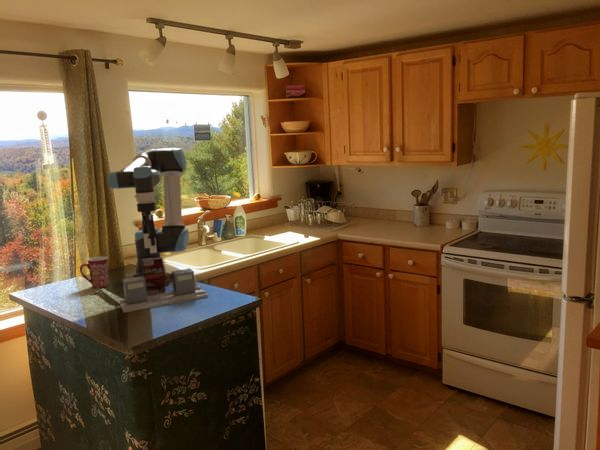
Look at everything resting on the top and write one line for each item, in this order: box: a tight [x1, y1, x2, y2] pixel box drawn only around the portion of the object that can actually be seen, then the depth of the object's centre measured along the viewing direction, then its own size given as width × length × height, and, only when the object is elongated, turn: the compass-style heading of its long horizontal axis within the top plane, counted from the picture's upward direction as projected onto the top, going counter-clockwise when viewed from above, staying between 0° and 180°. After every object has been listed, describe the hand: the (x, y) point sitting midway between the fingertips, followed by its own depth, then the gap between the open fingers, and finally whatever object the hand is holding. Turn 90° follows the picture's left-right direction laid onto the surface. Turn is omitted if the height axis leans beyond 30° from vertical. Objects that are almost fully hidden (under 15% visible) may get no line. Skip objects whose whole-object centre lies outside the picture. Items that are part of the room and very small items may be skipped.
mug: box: [79, 256, 109, 289], centre depth 240 cm, size 13×9×14 cm
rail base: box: [119, 268, 208, 314], centre depth 211 cm, size 13×34×11 cm, turn 116°
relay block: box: [194, 274, 198, 287], centre depth 228 cm, size 5×5×6 cm
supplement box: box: [141, 256, 166, 296], centre depth 223 cm, size 9×5×16 cm, turn 116°
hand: (150, 250), depth 221 cm, fingers open, 13 cm apart
